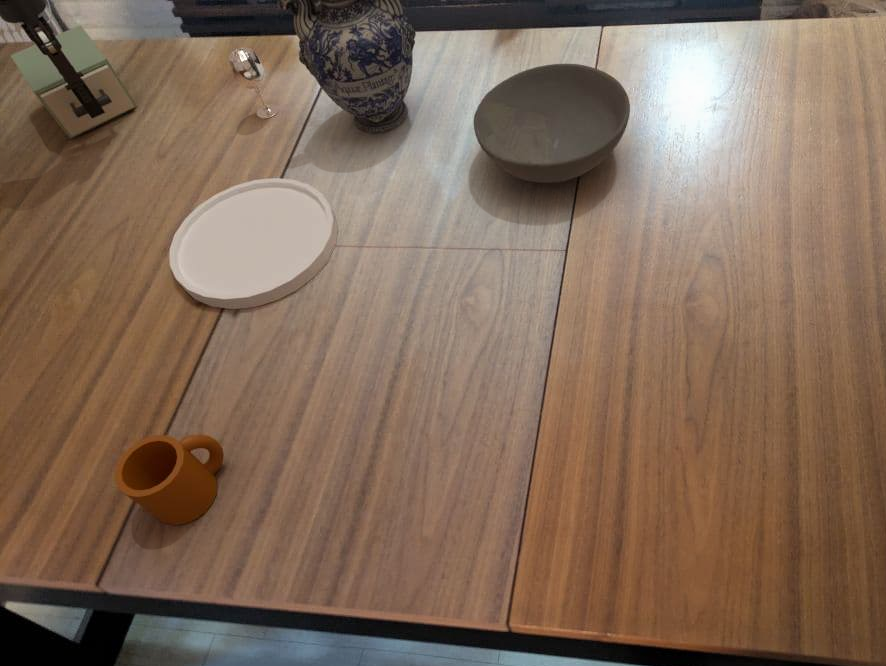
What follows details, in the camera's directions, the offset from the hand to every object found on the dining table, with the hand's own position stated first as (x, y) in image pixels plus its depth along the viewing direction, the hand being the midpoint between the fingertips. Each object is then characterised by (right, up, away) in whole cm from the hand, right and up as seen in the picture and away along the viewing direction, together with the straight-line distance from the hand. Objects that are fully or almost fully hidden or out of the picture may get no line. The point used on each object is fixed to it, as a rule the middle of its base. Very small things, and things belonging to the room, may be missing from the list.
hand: (97, 113), depth 137 cm
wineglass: (+31, +2, +5) cm, 32 cm away
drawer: (-6, +5, +9) cm, 11 cm away
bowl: (+88, -12, -10) cm, 90 cm away
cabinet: (-8, +7, +11) cm, 16 cm away
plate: (+37, -29, -15) cm, 50 cm away
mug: (+38, -68, -39) cm, 87 cm away
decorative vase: (+55, 0, +1) cm, 55 cm away
